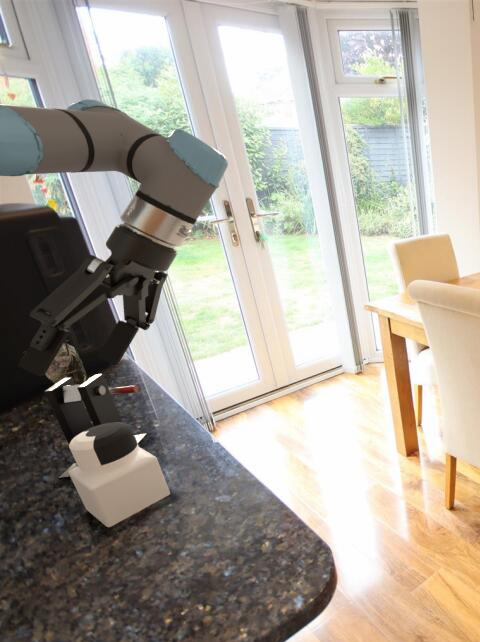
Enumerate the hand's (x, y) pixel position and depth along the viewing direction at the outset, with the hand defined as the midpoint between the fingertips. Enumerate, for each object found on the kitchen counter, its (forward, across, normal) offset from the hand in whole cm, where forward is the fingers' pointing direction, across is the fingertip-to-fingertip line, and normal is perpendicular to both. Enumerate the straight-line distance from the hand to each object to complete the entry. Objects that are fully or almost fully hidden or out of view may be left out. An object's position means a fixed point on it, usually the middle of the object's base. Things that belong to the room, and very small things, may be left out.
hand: (72, 365), depth 65 cm
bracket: (+14, +6, -8) cm, 17 cm away
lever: (+6, +6, -2) cm, 9 cm away
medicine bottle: (+11, -6, -18) cm, 22 cm away
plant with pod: (+18, +27, +10) cm, 34 cm away
